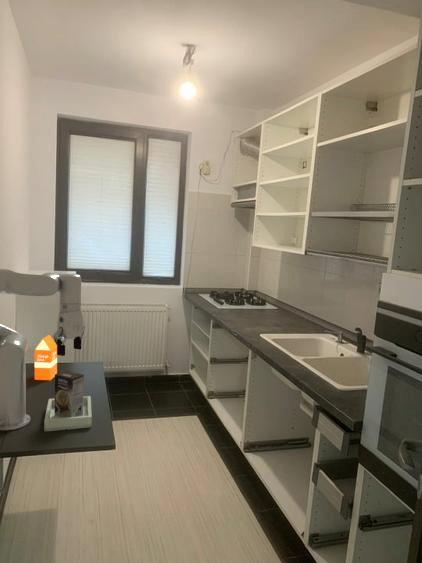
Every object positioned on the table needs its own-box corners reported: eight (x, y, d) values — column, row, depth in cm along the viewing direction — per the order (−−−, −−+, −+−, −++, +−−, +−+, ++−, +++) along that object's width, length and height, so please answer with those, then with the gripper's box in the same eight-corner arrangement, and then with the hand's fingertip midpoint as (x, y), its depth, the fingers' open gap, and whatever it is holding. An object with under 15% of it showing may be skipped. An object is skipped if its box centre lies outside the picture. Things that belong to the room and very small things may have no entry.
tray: (91, 427, 149) (91, 416, 148) (44, 431, 144) (44, 420, 143) (90, 405, 168) (90, 396, 167) (48, 408, 163) (48, 398, 162)
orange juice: (57, 374, 203) (57, 334, 201) (50, 380, 194) (50, 339, 192) (41, 373, 203) (41, 334, 201) (34, 379, 194) (34, 338, 192)
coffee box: (53, 415, 155) (53, 374, 153) (66, 409, 160) (66, 369, 159) (71, 421, 151) (71, 378, 149) (83, 414, 156) (84, 374, 155)
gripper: (63, 311, 142) (62, 359, 144) (92, 305, 158) (91, 347, 160) (45, 309, 144) (45, 356, 146) (75, 303, 161) (75, 345, 162)
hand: (69, 352), depth 153 cm, fingers open, 9 cm apart
